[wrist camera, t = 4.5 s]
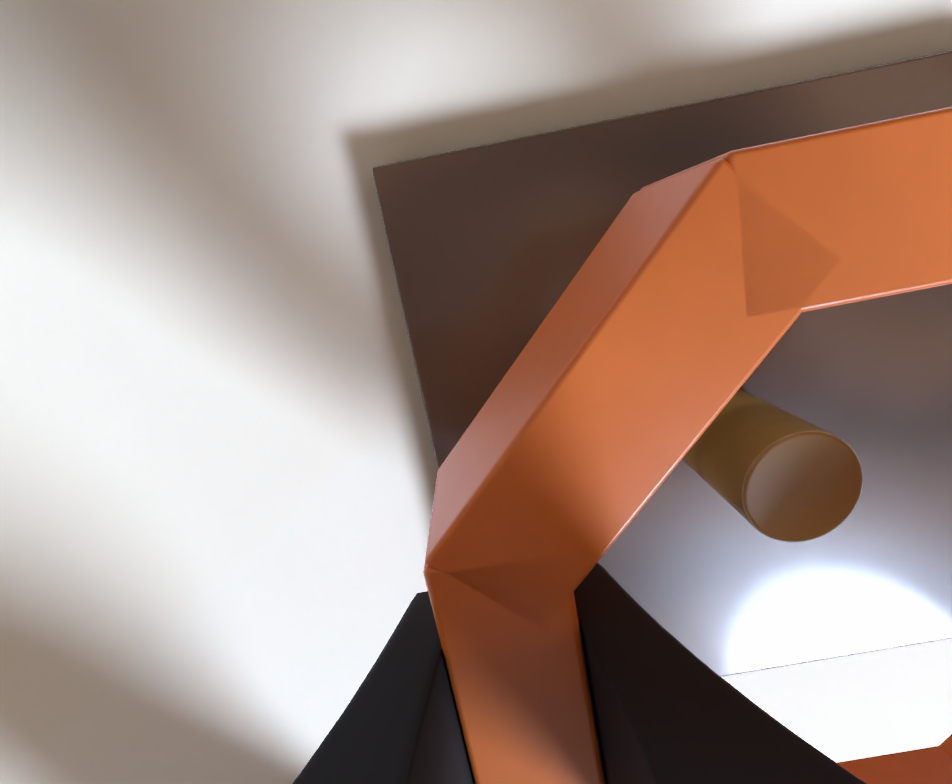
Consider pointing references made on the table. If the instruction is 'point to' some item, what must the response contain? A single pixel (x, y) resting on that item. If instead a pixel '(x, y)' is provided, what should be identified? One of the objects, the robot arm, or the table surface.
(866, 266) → the ring
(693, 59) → the table surface
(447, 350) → the peg board
